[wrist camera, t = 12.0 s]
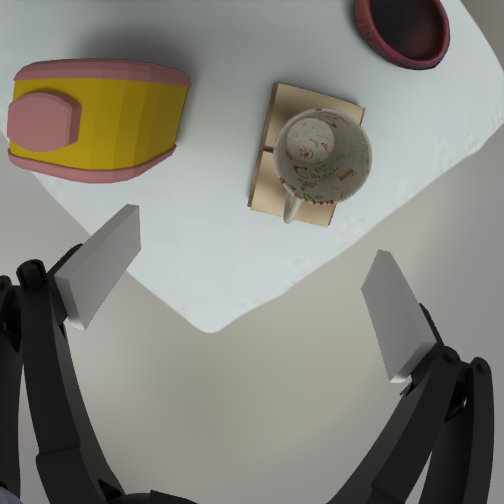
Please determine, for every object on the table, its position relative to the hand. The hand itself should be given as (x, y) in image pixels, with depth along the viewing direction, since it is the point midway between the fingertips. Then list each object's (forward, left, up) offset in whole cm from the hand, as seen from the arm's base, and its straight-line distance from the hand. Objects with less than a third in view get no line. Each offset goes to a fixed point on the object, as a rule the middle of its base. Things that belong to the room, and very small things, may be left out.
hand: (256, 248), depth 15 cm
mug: (-2, +4, -20) cm, 21 cm away
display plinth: (-2, +4, -24) cm, 24 cm away
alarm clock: (-5, -20, -24) cm, 32 cm away
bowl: (-24, +10, -24) cm, 35 cm away
